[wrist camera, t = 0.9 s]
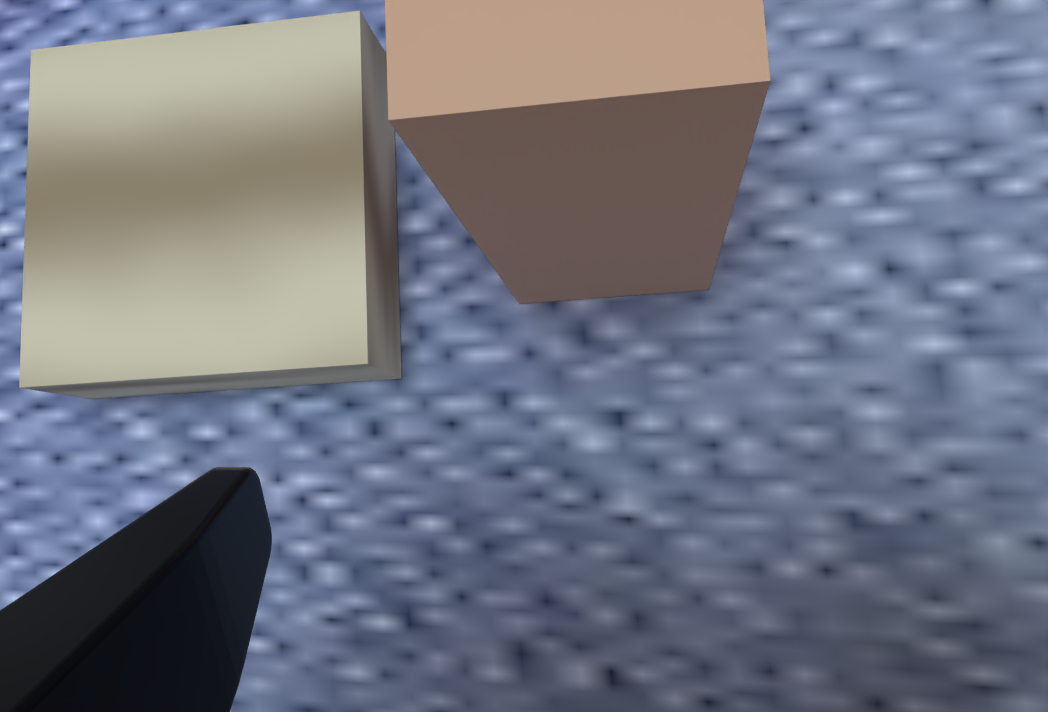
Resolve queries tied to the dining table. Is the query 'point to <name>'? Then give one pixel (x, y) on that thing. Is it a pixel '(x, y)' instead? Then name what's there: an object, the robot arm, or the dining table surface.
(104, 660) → the robot arm
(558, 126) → the brown block
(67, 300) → the plinth
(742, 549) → the dining table surface
